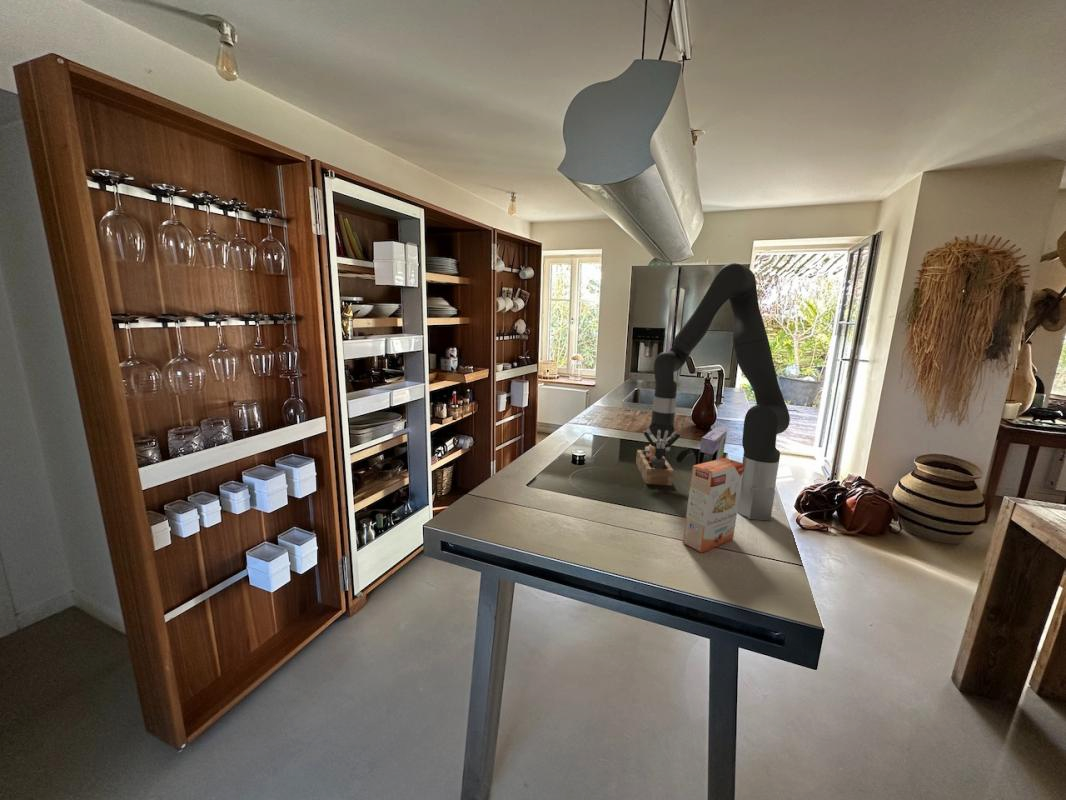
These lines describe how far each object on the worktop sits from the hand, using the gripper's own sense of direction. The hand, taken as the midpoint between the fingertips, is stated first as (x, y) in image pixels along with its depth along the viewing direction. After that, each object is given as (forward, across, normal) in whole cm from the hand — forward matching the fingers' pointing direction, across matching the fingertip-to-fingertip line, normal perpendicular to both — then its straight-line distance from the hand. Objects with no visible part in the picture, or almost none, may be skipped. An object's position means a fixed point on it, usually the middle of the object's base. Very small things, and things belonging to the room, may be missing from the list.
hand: (658, 457), depth 147 cm
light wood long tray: (+8, 0, +7) cm, 11 cm away
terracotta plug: (+5, 0, +7) cm, 9 cm away
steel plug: (+8, 0, +14) cm, 16 cm away
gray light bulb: (+7, 0, 0) cm, 7 cm away
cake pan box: (+9, +19, +4) cm, 21 cm away
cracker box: (+8, +5, -42) cm, 43 cm away
